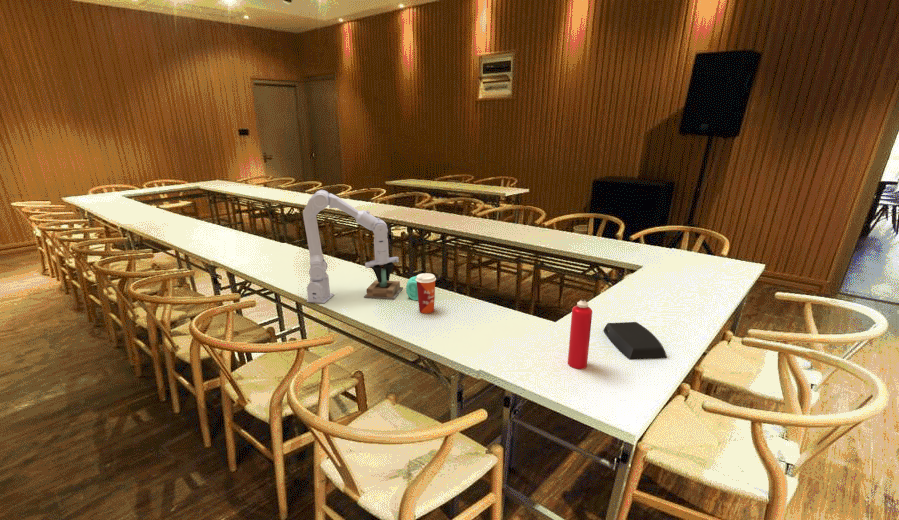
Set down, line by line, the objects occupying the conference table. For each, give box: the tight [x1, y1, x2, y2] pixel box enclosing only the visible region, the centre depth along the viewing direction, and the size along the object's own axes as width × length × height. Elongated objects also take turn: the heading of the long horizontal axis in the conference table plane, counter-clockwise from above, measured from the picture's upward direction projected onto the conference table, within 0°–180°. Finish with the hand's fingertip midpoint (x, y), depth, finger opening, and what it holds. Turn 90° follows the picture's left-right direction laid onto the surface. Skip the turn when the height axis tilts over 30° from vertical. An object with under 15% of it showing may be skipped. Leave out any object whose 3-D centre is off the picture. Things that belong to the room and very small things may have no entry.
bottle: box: [567, 299, 593, 370], centre depth 119 cm, size 5×5×20 cm
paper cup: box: [416, 272, 437, 314], centre depth 158 cm, size 8×8×14 cm
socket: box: [363, 279, 404, 301], centre depth 177 cm, size 13×13×4 cm
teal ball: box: [405, 275, 418, 302], centre depth 172 cm, size 8×8×8 cm
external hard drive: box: [602, 321, 668, 361], centre depth 133 cm, size 13×19×4 cm
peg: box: [380, 268, 387, 287], centre depth 176 cm, size 3×3×7 cm
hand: (383, 281), depth 176 cm, fingers closed on peg, 3 cm apart
